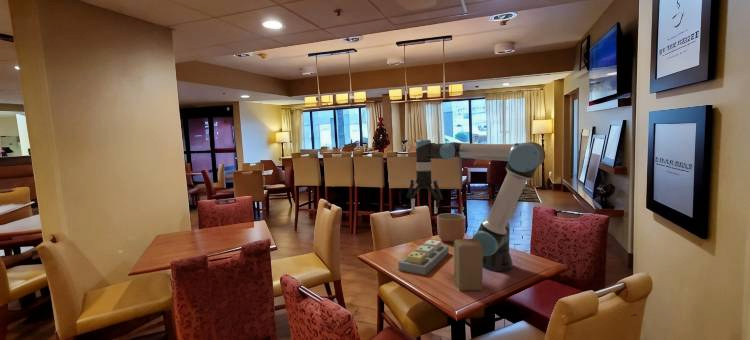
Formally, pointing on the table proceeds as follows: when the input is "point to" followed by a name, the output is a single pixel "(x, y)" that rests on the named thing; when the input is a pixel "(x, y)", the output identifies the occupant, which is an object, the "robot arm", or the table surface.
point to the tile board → (425, 266)
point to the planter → (451, 227)
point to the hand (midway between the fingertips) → (424, 212)
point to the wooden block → (468, 264)
